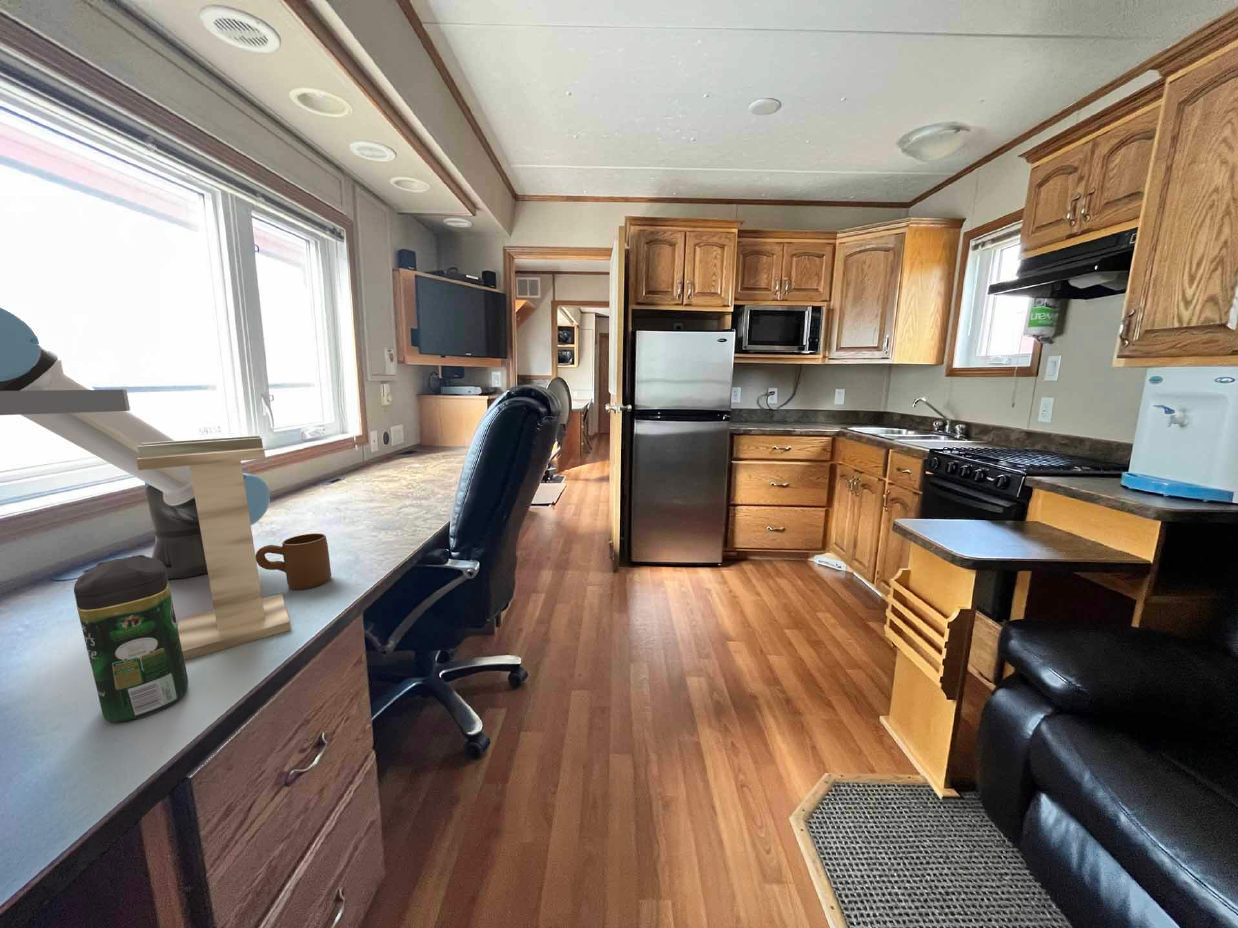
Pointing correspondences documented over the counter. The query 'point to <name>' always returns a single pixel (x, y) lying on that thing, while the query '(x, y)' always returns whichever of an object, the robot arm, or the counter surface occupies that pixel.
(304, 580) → the mug
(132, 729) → the counter surface
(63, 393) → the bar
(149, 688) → the coffee jar
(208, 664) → the counter surface
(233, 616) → the stand
